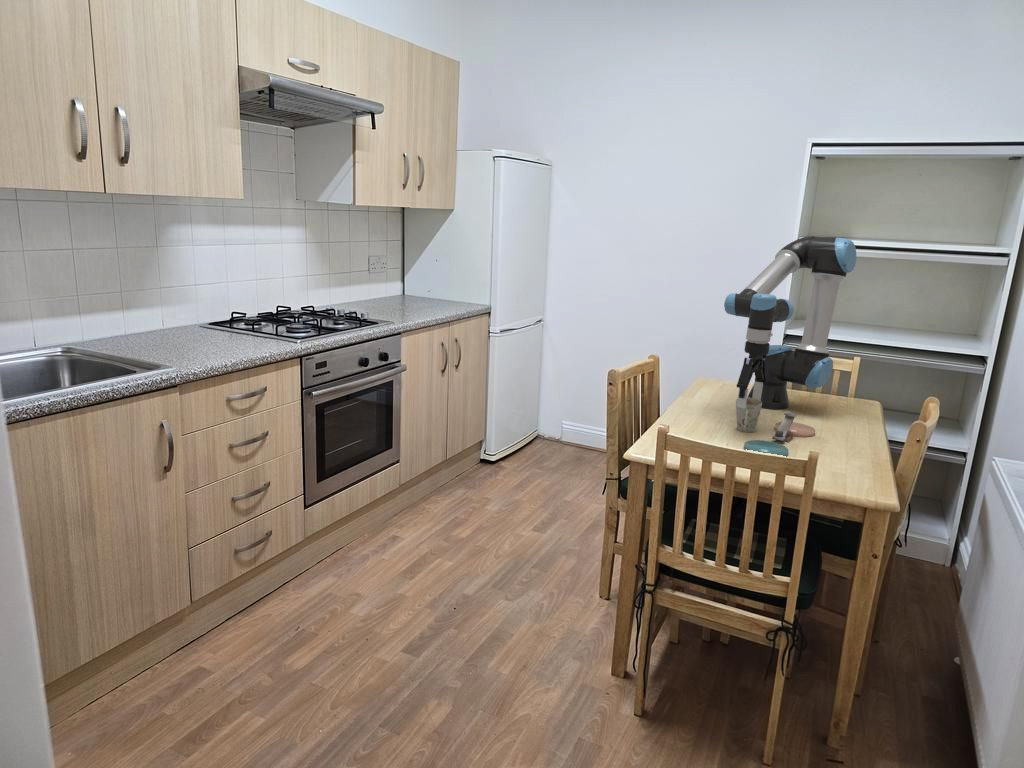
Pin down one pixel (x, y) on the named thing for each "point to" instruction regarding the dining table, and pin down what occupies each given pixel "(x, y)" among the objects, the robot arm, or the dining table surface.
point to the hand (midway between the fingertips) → (748, 404)
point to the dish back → (798, 430)
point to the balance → (785, 427)
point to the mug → (748, 415)
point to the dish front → (766, 447)
